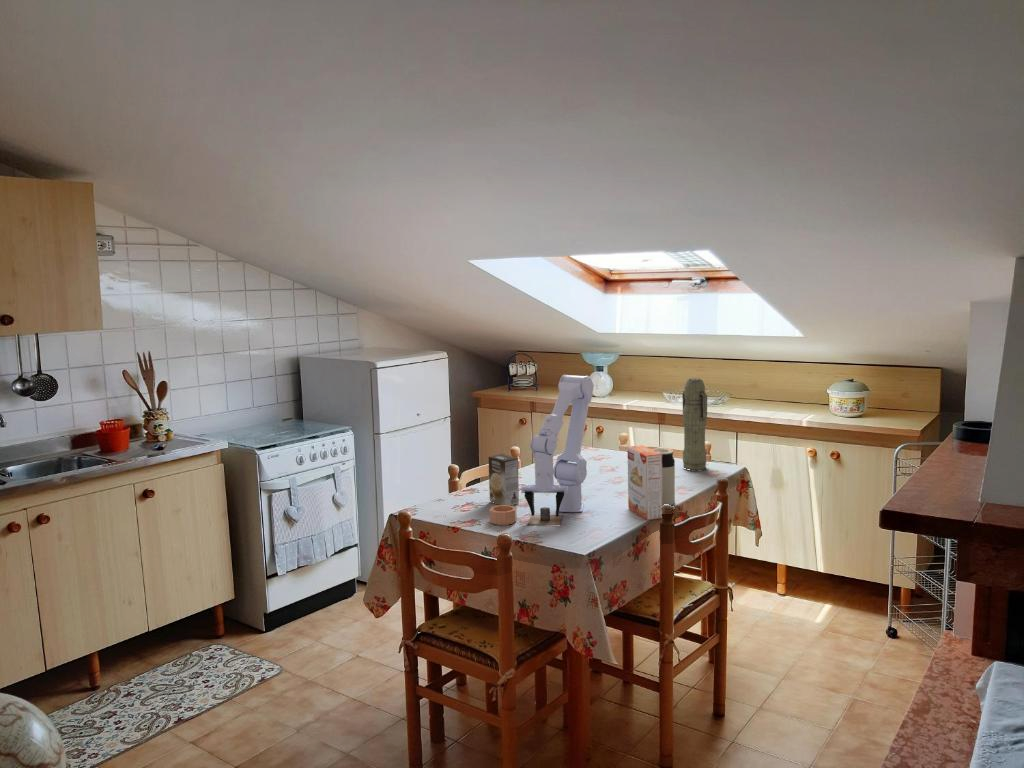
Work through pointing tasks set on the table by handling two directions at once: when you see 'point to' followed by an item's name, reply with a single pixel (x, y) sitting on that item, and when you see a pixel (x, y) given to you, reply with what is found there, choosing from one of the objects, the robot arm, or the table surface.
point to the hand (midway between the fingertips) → (545, 515)
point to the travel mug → (667, 475)
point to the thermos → (694, 424)
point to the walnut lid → (545, 518)
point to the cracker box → (645, 482)
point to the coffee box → (503, 479)
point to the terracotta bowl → (503, 514)
